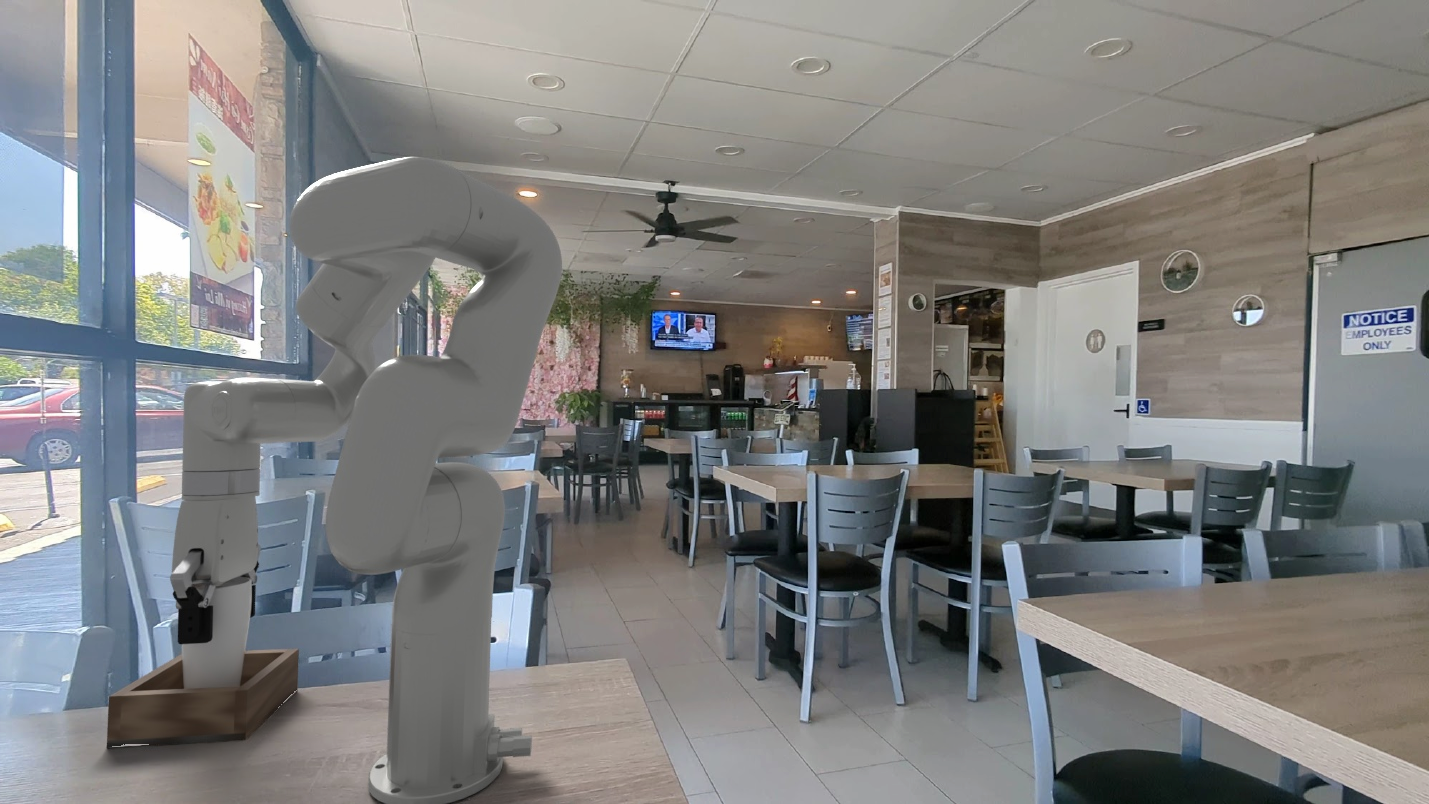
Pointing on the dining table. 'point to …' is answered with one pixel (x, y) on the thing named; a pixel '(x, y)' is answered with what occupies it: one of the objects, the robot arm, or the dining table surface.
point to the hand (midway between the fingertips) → (218, 629)
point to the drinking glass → (221, 639)
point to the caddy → (201, 703)
